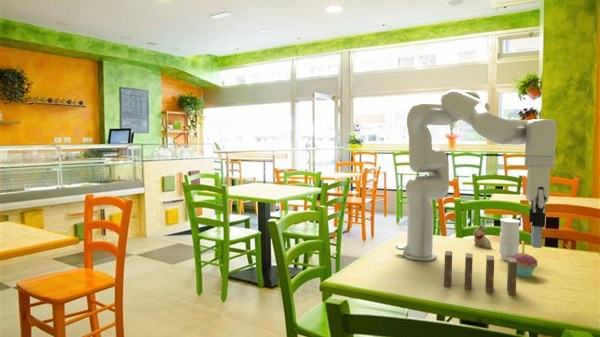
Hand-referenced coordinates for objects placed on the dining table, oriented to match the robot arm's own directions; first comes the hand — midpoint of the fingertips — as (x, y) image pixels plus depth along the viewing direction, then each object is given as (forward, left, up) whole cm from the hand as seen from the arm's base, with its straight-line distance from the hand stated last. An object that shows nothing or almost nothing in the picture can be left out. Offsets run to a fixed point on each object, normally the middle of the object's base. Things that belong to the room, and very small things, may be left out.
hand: (536, 223), depth 120 cm
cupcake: (-1, +20, -22) cm, 30 cm away
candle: (-4, +39, -22) cm, 45 cm away
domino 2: (-18, 0, -21) cm, 28 cm away
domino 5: (0, 0, -7) cm, 7 cm away
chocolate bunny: (-13, +55, -22) cm, 61 cm away
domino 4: (-6, 0, -21) cm, 22 cm away
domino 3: (-12, 0, -21) cm, 24 cm away
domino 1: (-24, 0, -21) cm, 32 cm away
